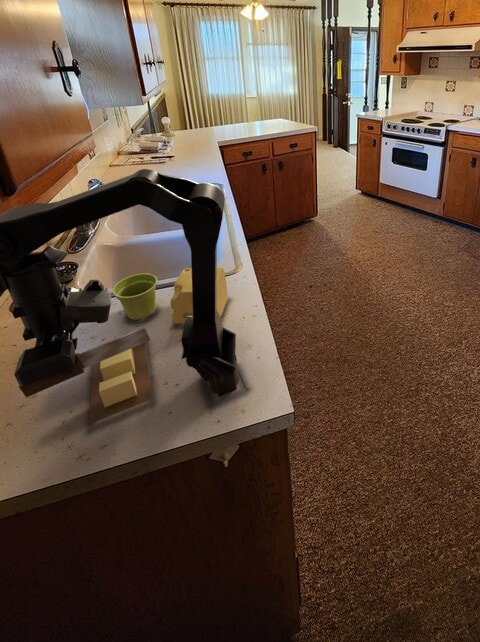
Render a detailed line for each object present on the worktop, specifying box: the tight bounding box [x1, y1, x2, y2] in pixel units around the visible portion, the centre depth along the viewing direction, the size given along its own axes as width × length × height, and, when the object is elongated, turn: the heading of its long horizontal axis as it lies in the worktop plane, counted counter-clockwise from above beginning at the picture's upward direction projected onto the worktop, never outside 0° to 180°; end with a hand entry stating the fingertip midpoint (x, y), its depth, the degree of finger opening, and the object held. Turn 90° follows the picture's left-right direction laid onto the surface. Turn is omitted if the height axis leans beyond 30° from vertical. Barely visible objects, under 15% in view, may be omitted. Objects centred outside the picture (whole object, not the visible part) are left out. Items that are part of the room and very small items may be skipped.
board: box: [88, 342, 153, 425], centre depth 67 cm, size 17×10×1 cm, turn 29°
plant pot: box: [112, 272, 158, 320], centre depth 83 cm, size 9×9×9 cm
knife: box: [18, 326, 152, 398], centre depth 59 cm, size 18×2×3 cm, turn 119°
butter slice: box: [99, 372, 137, 407], centre depth 62 cm, size 2×5×4 cm, turn 120°
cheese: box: [170, 267, 229, 325], centre depth 84 cm, size 10×11×10 cm
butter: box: [100, 348, 135, 381], centre depth 68 cm, size 6×5×4 cm
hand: (69, 369), depth 58 cm, fingers closed on knife, 2 cm apart
